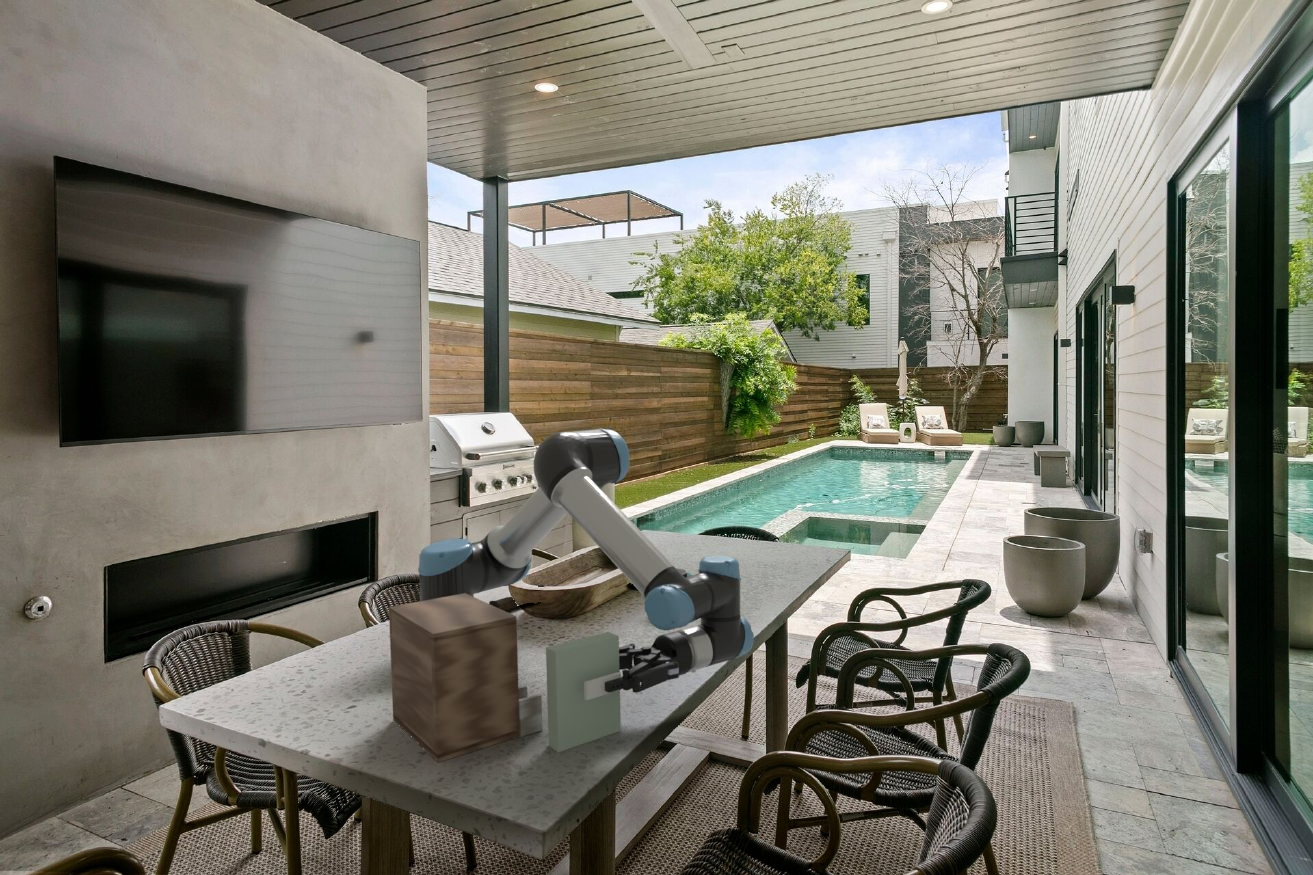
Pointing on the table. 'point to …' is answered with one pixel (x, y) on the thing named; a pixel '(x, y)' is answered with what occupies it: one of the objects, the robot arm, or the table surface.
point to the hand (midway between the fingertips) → (571, 683)
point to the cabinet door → (581, 691)
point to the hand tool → (506, 603)
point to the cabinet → (458, 676)
